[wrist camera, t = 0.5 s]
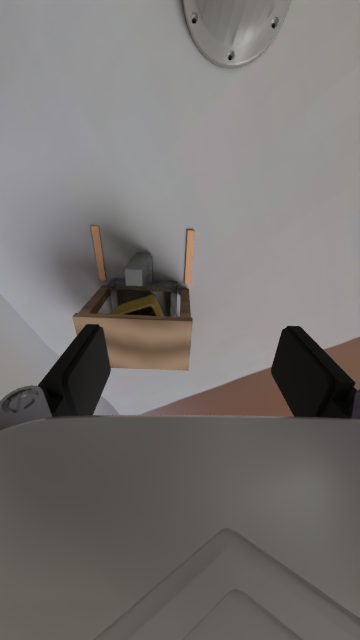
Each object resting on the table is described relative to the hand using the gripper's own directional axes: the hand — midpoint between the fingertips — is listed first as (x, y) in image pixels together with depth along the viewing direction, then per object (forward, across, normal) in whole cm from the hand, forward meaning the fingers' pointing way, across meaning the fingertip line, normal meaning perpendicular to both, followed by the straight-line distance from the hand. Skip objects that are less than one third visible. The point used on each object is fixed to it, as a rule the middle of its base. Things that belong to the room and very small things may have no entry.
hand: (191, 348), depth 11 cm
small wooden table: (+32, +8, +13) cm, 36 cm away
